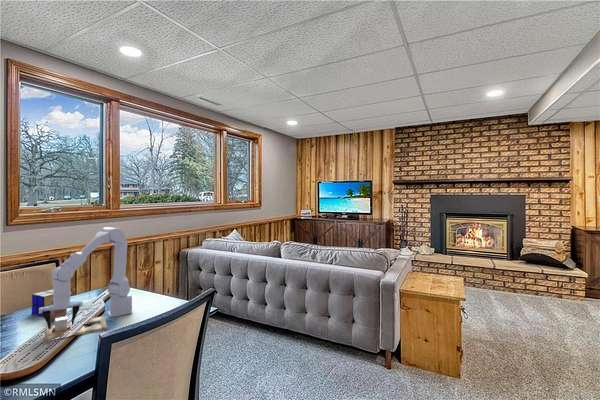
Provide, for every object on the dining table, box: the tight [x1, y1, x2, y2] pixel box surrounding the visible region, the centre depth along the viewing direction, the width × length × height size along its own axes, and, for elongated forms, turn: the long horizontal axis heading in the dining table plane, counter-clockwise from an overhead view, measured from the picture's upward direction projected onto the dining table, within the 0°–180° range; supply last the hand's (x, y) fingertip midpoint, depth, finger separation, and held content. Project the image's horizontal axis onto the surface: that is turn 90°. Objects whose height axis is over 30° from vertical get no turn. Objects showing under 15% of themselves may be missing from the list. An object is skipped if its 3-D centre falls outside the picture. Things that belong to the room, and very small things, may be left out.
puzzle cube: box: [31, 289, 53, 318], centre depth 147 cm, size 10×10×10 cm
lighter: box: [49, 300, 68, 323], centre depth 139 cm, size 8×3×10 cm, turn 168°
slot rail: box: [43, 315, 108, 342], centre depth 129 cm, size 21×15×1 cm
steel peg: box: [54, 315, 68, 333], centre depth 125 cm, size 4×4×6 cm
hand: (61, 326), depth 125 cm, fingers open, 7 cm apart
